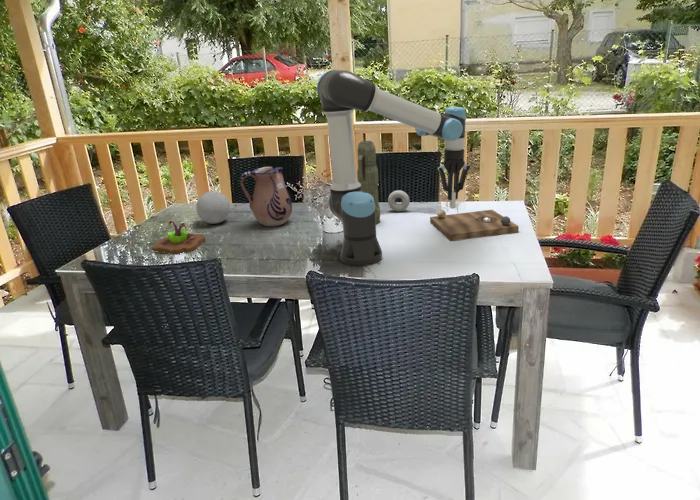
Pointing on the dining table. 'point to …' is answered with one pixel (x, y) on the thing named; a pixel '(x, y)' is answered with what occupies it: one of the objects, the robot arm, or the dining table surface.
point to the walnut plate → (472, 225)
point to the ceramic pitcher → (269, 196)
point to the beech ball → (441, 213)
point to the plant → (179, 241)
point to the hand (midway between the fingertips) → (452, 207)
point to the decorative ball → (213, 207)
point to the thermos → (368, 172)
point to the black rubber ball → (505, 220)
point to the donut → (394, 205)
